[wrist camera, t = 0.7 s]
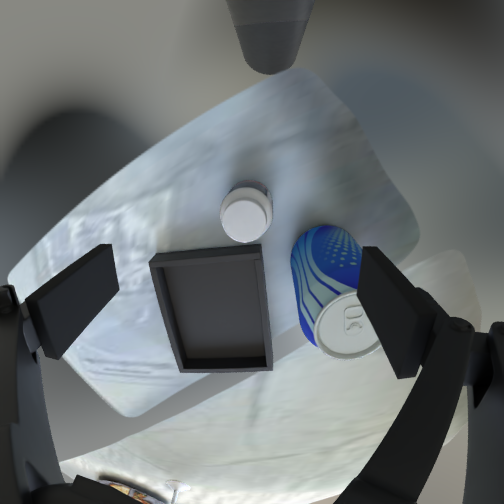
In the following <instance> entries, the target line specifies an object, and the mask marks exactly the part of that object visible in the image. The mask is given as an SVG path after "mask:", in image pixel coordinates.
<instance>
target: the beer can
mask: <svg viewBox="0 0 504 504" xmlns="http://www.w3.org/2000/svg"><path fill="white" fill-rule="evenodd" d="M361 257H362V248H361V247H360V246H359V245H358V244H357V242H356V241H355V240H354V239H353V238H352V236H351V235H350V234H349V233H347V232H346V231H345V230H343V229H341V228H339V227H335V226H329V225H325V226H318V227H315V228H312V229H310V230H308V231H307V232H305V233H304V234H303V235H302V236H301V237H300V238H299V239H298V240H297V241H296V243H295V245H294V247H293V249H292V253H291V260H290V262H291V269H292V275H293V282H294V288H295V294H296V301H297V307H298V314H299V320H300V325H301V328H302V330H303V332H304V334H305V336H306V337H307V339H308V340H309V341H310V342H311V343H312V344H314V345H315V346H316V347H318V348H319V349H320V350H321V351H322V352H323V353H324V354H326V355H327V356H329V357H331V358H334V359H338V360H354V359H359V358H362V357H364V356H367V355H369V354H371V353H372V352H374V351H375V350H377V349H378V348H379V347H380V346H381V343H380V341H379V339H378V337H377V335H376V333H375V331H374V329H373V327H372V325H371V323H370V321H369V319H368V317H367V315H366V313H365V311H364V309H363V307H362V305H361V303H360V302H359V300H358V298H357V296H356V294H357V287H358V280H359V273H360V265H361Z"/></svg>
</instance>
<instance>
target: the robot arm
mask: <svg viewBox="0 0 504 504" xmlns="http://www.w3.org/2000/svg"><path fill="white" fill-rule="evenodd" d="M118 291H119V284H118V279H117V274H116V268H115V262H114V256H113V250H112V244H100V245H98V246H97V247H95V248H94V249H92V250H91V251H89V252H88V253H86V254H85V255H84V256H82V257H81V258H79V259H78V260H76V261H75V262H74V263H72V264H71V265H69V266H68V267H67V268H65V269H64V270H63V271H61V272H60V273H58V274H57V275H56V276H54V277H53V278H52V279H50V280H49V281H48V282H46V283H45V284H44V285H42V286H41V287H40V288H38V289H37V290H36V291H35V292H33V293H32V294H31V295H29V296H28V297H27V298H26V299H25V301H24V302H23V303H22V304H21V305H20V304H19V301H18V298H17V295H16V292H15V288H14V286H13V285H3V286H0V504H144V503H142V502H140V501H138V500H136V499H134V498H132V497H130V496H128V495H126V494H125V493H123V492H121V491H119V490H117V489H116V488H114V487H112V486H109V485H106V484H103V483H100V482H97V481H94V480H91V479H88V478H85V477H83V476H80V475H76V477H75V480H74V482H73V483H65V481H64V479H63V476H62V473H61V470H60V466H59V463H58V460H57V456H56V452H55V448H54V444H53V440H52V435H51V431H50V426H49V421H48V416H47V411H46V405H45V399H44V392H43V384H42V377H41V368H40V357H39V355H38V352H37V349H38V348H39V347H40V346H42V349H43V351H44V354H45V356H46V357H49V358H52V359H56V360H59V359H60V358H61V356H62V355H63V354H64V353H65V352H66V350H67V349H68V348H69V347H70V346H71V344H72V343H73V342H74V341H75V340H76V339H77V337H78V336H79V335H80V334H81V333H82V332H83V330H84V329H85V328H86V327H87V326H88V325H89V323H90V322H91V321H92V320H93V319H94V318H95V317H96V315H97V314H98V313H99V312H100V311H101V310H102V309H103V308H104V307H105V305H106V304H107V303H108V302H109V301H110V300H111V299H112V298H113V297H114V296H115V294H116V293H117V292H118ZM356 296H357V298H358V300H359V302H360V303H361V305H362V307H363V309H364V311H365V313H366V315H367V317H368V319H369V321H370V323H371V325H372V327H373V329H374V331H375V333H376V335H377V337H378V339H379V341H380V343H381V345H382V347H383V349H384V351H385V353H386V355H387V357H388V359H389V362H390V364H391V366H392V368H393V370H394V372H395V374H396V376H397V379H403V378H411V377H416V374H417V372H418V369H419V367H420V364H421V366H422V367H423V368H422V370H421V372H420V374H419V376H418V378H417V380H416V382H415V384H414V386H413V388H412V390H411V392H410V394H409V396H408V398H407V399H406V401H405V403H404V405H403V407H402V409H401V410H400V412H399V414H398V416H397V417H396V419H395V421H394V422H393V424H392V426H391V427H390V429H389V431H388V432H387V434H386V435H385V437H384V439H383V440H382V442H381V443H380V445H379V446H378V448H377V449H376V451H375V452H374V454H373V455H372V457H371V458H370V460H369V461H368V462H367V464H366V465H365V467H364V468H363V469H362V471H361V472H360V473H359V475H358V476H357V477H356V478H354V479H353V480H352V481H351V483H350V484H349V485H348V486H347V487H346V489H345V490H344V491H343V492H342V494H341V495H340V496H339V497H338V499H337V500H336V501H335V502H334V503H333V504H417V503H416V502H417V499H418V497H419V495H420V493H421V491H422V489H423V487H424V485H425V483H426V481H427V479H428V477H429V475H430V473H431V471H432V469H433V466H434V464H435V462H436V460H437V457H438V455H439V453H440V450H441V448H442V445H443V443H444V440H445V438H446V435H447V432H448V430H449V427H450V424H451V421H452V418H453V415H454V412H455V409H456V406H457V403H458V400H459V397H460V393H461V390H462V386H467V396H468V454H467V469H466V480H465V489H464V497H463V504H504V322H494V323H493V324H492V325H491V328H490V330H489V333H481V332H475V329H474V327H473V325H472V324H471V323H469V322H468V321H466V320H464V319H462V318H458V317H450V316H449V315H448V314H447V313H446V312H445V311H444V310H443V308H442V307H441V306H440V305H438V303H437V302H436V301H435V300H434V298H433V297H432V296H431V295H430V294H429V293H428V292H426V291H424V290H423V289H421V288H419V287H417V288H415V287H414V286H413V285H412V284H411V282H410V281H409V280H408V279H407V278H406V277H405V276H404V275H403V274H402V273H401V272H400V271H399V269H397V267H396V266H395V265H394V264H393V263H392V262H391V261H390V260H389V259H388V258H387V257H386V256H385V255H384V254H383V253H382V252H381V251H380V250H379V249H378V247H371V246H363V249H362V257H361V265H360V273H359V280H358V287H357V294H356Z"/></svg>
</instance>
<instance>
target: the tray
mask: <svg viewBox="0 0 504 504" xmlns="http://www.w3.org/2000/svg"><path fill="white" fill-rule="evenodd" d="M149 267H150V272H151V276H152V280H153V283H154V287H155V291H156V295H157V299H158V302H159V306H160V310H161V313H162V317H163V320H164V324H165V327H166V330H167V334H168V337H169V340H170V343H171V347H172V350H173V353H174V356H175V359H176V362H177V365H178V368H179V371H180V373H225V372H226V373H229V372H255V371H273V352H272V341H271V332H270V322H269V312H268V303H267V293H266V284H265V274H264V265H263V256H262V246H261V244H255V245H244V246H233V247H222V248H211V249H200V250H190V251H179V252H169V253H158V254H156V255H155V256H154V257H153V258H152V259H151V260H150V261H149Z"/></svg>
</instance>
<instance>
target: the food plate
mask: <svg viewBox="0 0 504 504" xmlns="http://www.w3.org/2000/svg"><path fill="white" fill-rule="evenodd" d="M98 482H100V483H103V484H106V485H109V486H112V487H114V488H116V489H117V490H119V491H121V492H123V493H125V494H126V495H128V496H130V497H132V498H134V499H136V500H138V501H140V502H142V503H144V504H165V503H163V502H161V501H158V500H157V499H155V498H153V497H151V496H149V495H147V494H146V493H144V492H141V491H139V490H136V489H134V488H132V487H128V486H126V485H123V484H121V483H119V482H110V481H105V480H99V481H98Z"/></svg>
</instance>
